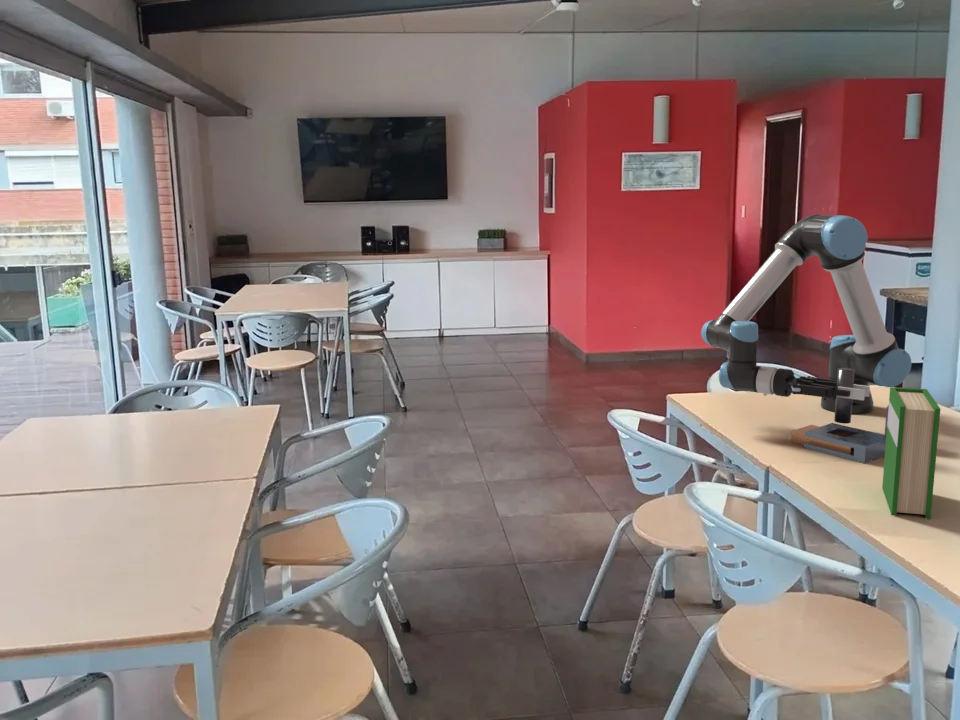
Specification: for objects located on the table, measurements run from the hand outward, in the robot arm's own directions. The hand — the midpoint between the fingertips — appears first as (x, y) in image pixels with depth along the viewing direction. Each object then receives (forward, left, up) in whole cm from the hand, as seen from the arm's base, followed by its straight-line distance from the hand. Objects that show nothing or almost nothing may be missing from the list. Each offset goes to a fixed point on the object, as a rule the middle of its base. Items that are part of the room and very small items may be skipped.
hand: (866, 393), depth 219 cm
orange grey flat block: (+1, -5, -16) cm, 17 cm away
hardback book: (+26, +25, -16) cm, 39 cm away
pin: (+1, -5, -8) cm, 10 cm away
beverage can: (-13, +3, -16) cm, 21 cm away
